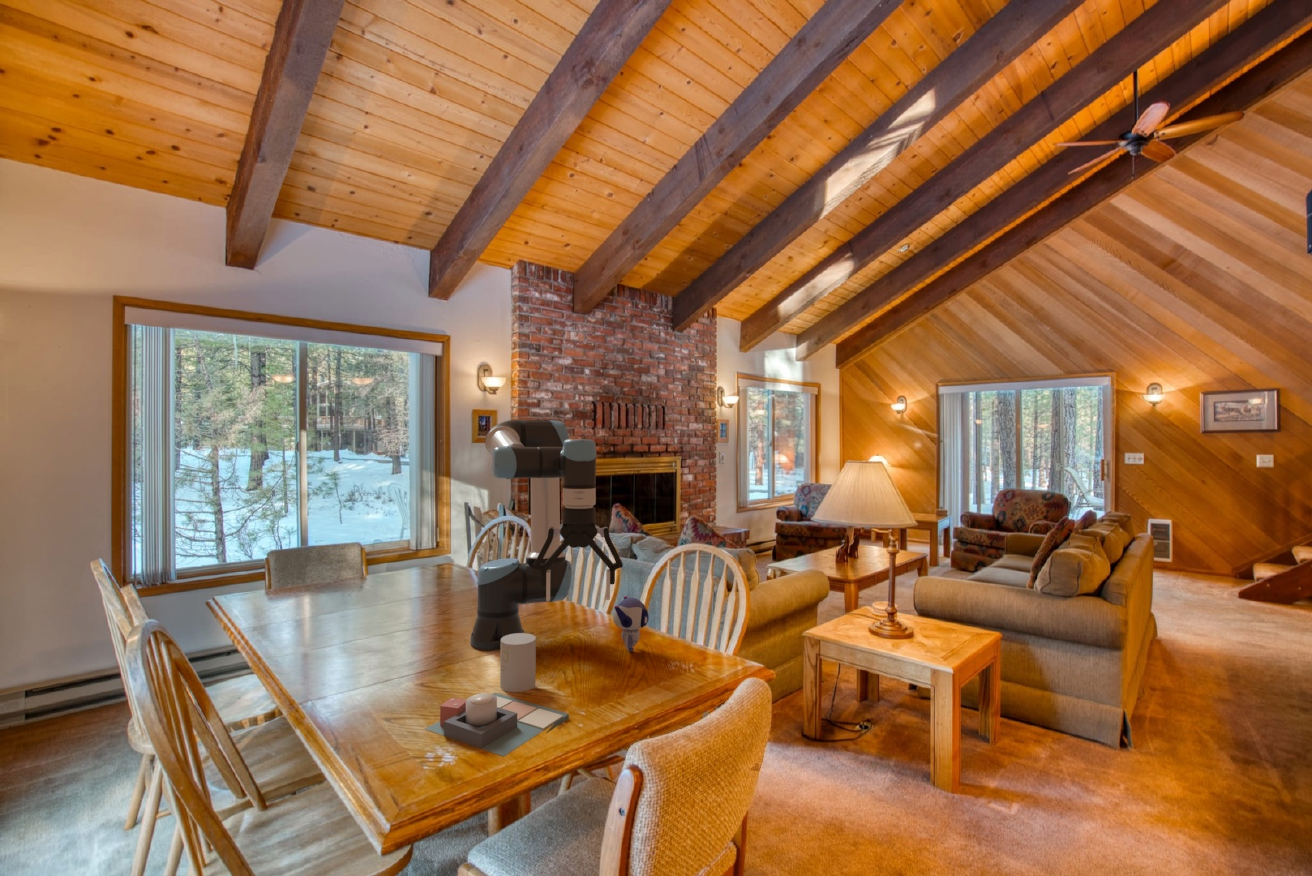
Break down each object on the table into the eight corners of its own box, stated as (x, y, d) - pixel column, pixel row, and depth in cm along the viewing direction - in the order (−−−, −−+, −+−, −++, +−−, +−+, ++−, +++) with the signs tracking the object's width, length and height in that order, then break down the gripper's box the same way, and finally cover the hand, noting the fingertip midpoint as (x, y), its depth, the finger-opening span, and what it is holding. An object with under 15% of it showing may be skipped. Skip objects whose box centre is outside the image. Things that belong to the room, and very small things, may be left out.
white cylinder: (503, 682, 150) (503, 633, 150) (537, 681, 151) (537, 632, 151) (497, 696, 142) (497, 644, 142) (533, 696, 143) (533, 644, 143)
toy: (643, 660, 166) (644, 604, 166) (608, 656, 168) (608, 601, 168) (651, 646, 177) (652, 594, 176) (618, 643, 179) (619, 592, 178)
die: (440, 725, 126) (440, 704, 126) (451, 716, 130) (451, 696, 130) (457, 728, 125) (457, 706, 125) (468, 719, 129) (468, 698, 129)
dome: (459, 722, 123) (459, 700, 123) (481, 710, 128) (481, 689, 128) (481, 729, 120) (481, 707, 120) (503, 717, 125) (503, 695, 125)
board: (424, 733, 125) (424, 714, 124) (495, 697, 142) (495, 680, 142) (503, 761, 114) (503, 741, 114) (568, 718, 132) (569, 700, 132)
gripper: (522, 508, 137) (521, 604, 137) (634, 508, 139) (633, 602, 140) (525, 504, 144) (524, 595, 144) (632, 504, 147) (631, 593, 147)
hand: (578, 599), depth 142 cm, fingers open, 13 cm apart
